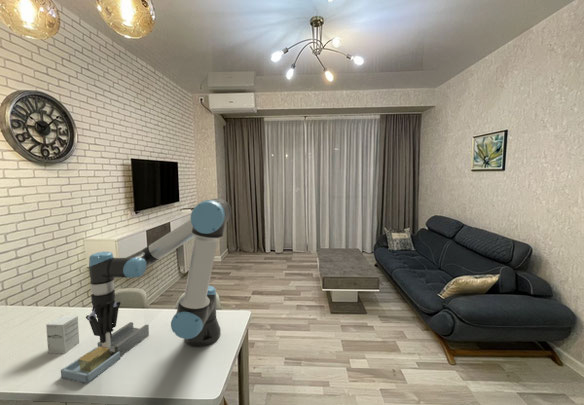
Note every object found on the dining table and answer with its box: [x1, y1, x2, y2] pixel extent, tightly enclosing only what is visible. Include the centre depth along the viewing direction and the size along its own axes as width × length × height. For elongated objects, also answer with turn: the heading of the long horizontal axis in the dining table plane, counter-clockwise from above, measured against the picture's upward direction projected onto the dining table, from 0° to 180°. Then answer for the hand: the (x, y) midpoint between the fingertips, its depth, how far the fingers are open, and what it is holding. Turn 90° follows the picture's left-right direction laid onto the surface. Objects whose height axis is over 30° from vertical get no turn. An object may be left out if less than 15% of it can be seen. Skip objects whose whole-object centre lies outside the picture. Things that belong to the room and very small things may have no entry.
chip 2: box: [91, 346, 110, 364], centre depth 100 cm, size 5×4×4 cm
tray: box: [60, 346, 121, 385], centre depth 97 cm, size 12×13×3 cm
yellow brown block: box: [77, 352, 100, 372], centre depth 96 cm, size 5×4×4 cm
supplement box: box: [45, 315, 80, 354], centre depth 108 cm, size 7×7×13 cm
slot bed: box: [97, 322, 150, 358], centre depth 111 cm, size 10×16×5 cm, turn 167°
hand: (106, 348), depth 103 cm, fingers closed
